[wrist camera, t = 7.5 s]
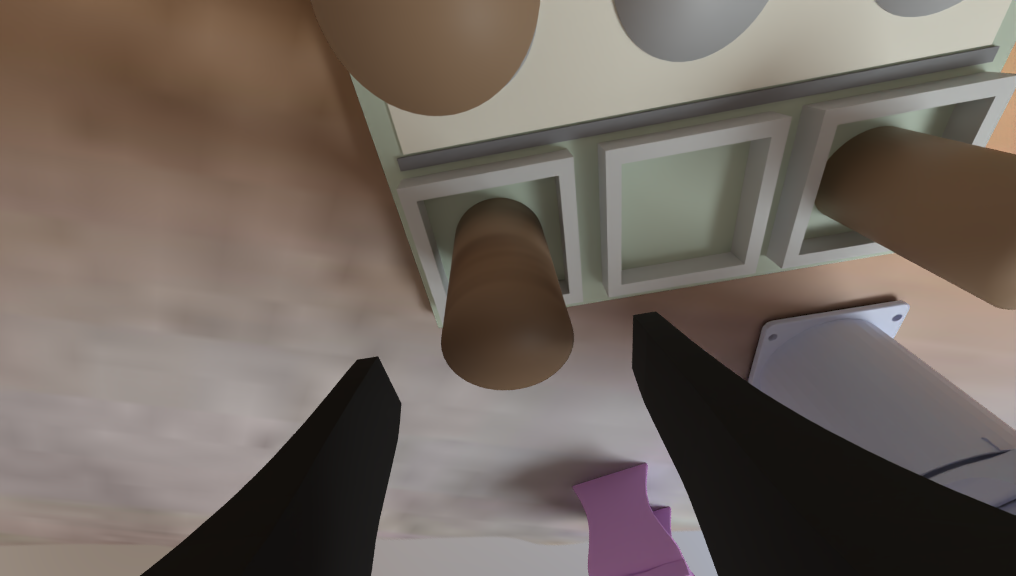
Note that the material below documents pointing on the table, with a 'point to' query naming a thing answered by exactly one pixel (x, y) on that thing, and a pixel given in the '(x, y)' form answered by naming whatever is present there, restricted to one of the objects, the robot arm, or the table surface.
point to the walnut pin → (504, 300)
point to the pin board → (694, 133)
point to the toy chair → (628, 528)
